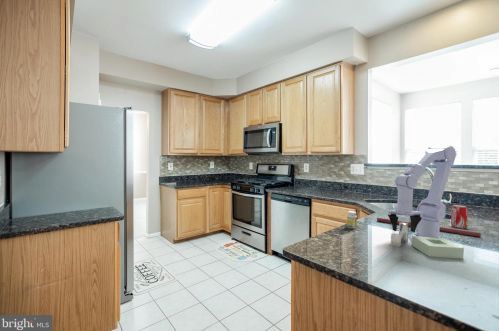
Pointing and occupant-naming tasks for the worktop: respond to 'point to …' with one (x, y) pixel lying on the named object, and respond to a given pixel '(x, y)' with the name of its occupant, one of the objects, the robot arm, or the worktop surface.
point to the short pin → (396, 240)
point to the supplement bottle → (351, 219)
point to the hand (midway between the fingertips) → (403, 231)
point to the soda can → (459, 216)
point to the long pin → (404, 231)
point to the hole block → (437, 247)
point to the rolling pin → (445, 229)
